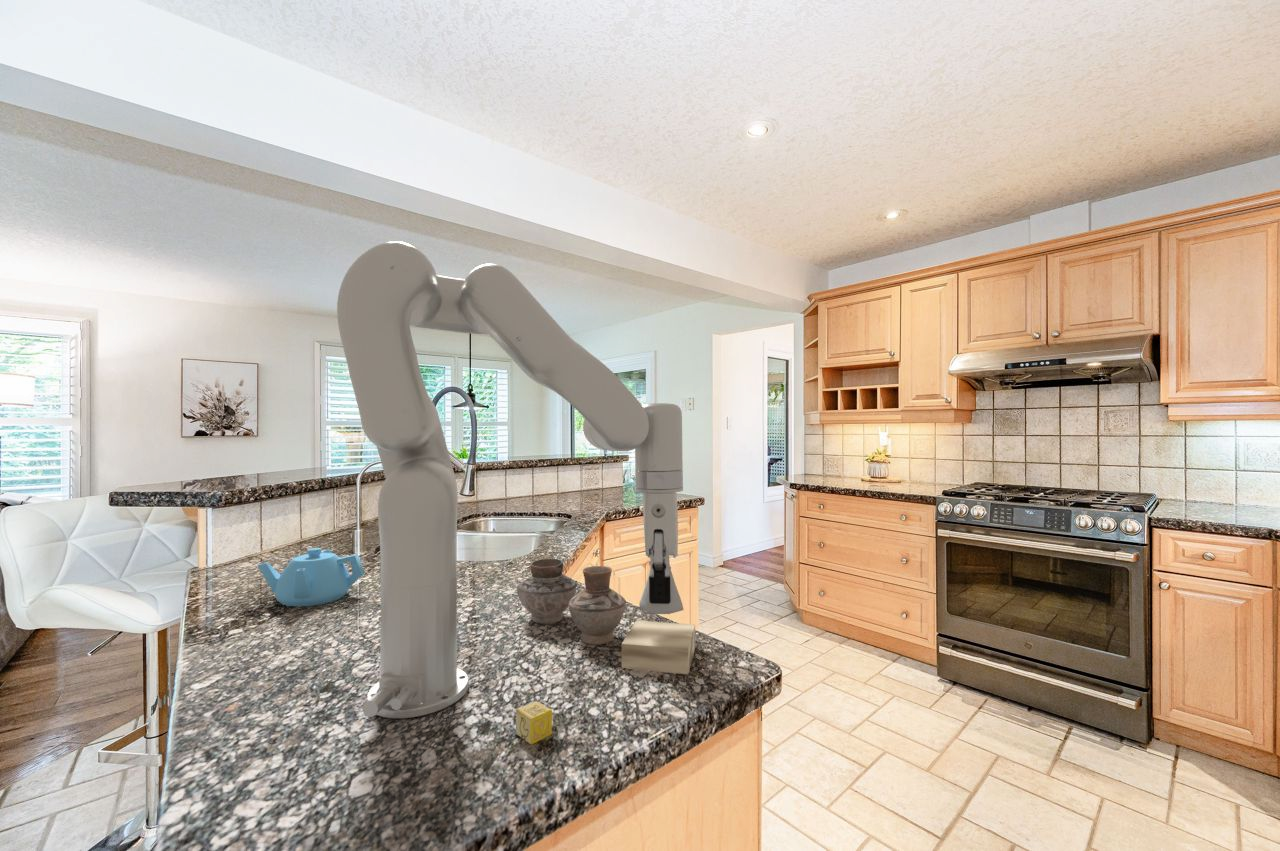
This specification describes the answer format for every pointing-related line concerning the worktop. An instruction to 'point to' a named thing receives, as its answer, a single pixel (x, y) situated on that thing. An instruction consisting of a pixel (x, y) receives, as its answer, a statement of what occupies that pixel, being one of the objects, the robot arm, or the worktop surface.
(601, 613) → the pottery
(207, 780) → the worktop surface
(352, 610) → the worktop surface
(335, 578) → the teapot
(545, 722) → the alphabet block
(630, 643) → the maple block
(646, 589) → the flask
